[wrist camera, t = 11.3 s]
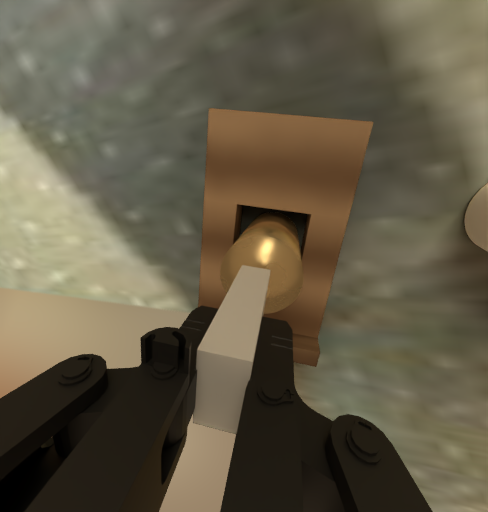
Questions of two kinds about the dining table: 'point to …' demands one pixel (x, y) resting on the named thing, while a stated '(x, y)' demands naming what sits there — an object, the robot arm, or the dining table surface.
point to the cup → (478, 218)
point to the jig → (282, 200)
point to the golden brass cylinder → (268, 258)
